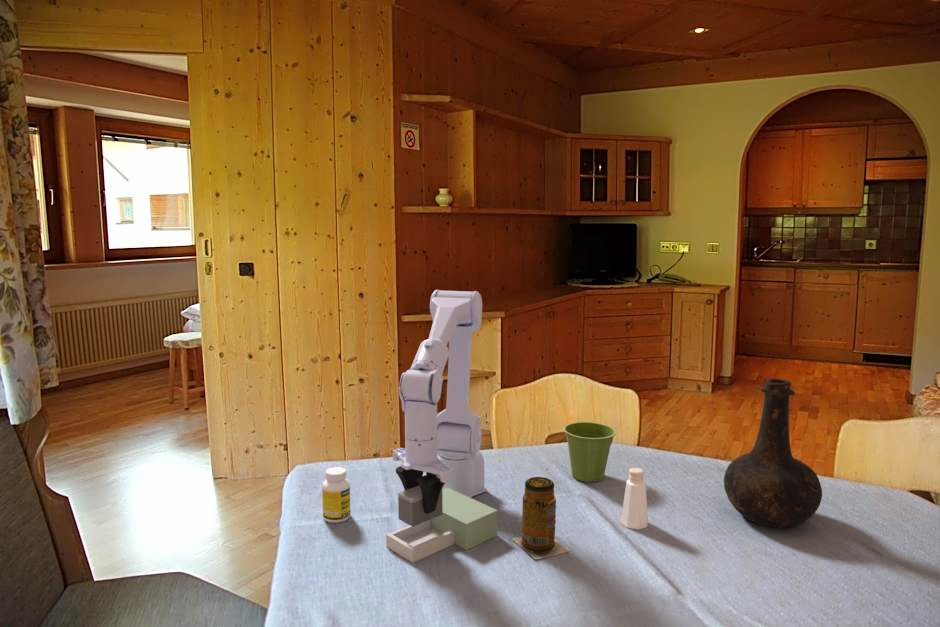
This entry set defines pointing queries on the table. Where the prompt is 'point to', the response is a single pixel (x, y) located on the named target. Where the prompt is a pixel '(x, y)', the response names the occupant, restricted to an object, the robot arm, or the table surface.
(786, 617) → the table surface
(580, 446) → the plant pot
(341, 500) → the supplement bottle
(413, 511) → the grey rectangular block
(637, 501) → the salt shaker
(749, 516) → the glass bottle
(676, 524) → the table surface
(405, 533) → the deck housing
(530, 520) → the condiment
